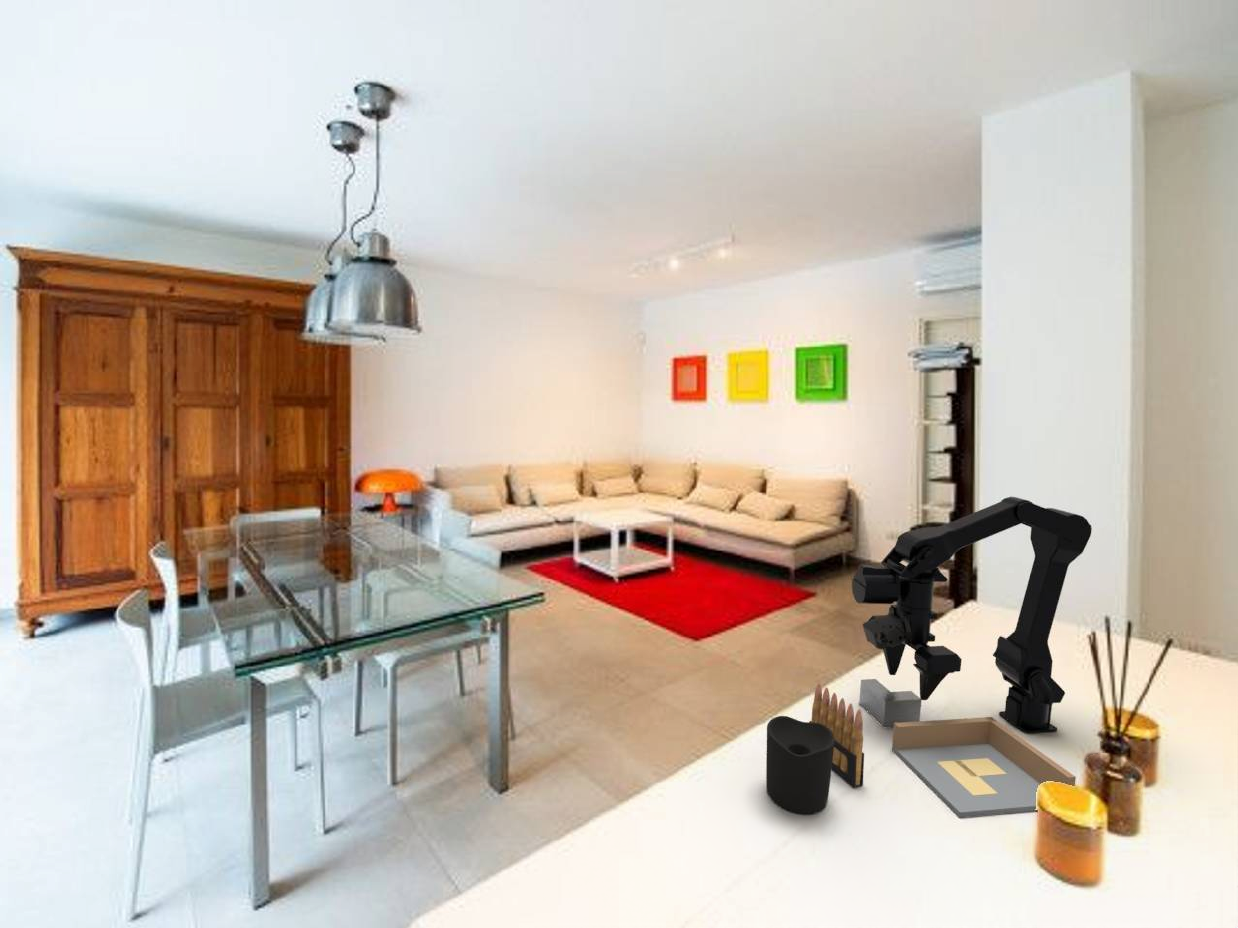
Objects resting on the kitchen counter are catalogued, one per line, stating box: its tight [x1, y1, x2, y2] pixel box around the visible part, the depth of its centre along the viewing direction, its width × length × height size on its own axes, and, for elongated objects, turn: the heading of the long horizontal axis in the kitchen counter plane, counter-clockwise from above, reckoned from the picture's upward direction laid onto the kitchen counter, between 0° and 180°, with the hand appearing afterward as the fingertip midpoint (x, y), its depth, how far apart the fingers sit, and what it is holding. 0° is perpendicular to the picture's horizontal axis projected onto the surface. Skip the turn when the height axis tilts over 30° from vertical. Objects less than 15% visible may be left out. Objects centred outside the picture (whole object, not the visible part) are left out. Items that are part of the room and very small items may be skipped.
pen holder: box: [765, 715, 835, 816], centre depth 86 cm, size 9×9×10 cm
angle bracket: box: [858, 678, 922, 728], centre depth 110 cm, size 7×8×5 cm
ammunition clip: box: [808, 682, 865, 789], centre depth 94 cm, size 11×2×12 cm, turn 22°
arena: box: [891, 716, 1077, 819], centre depth 92 cm, size 18×16×5 cm
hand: (907, 686), depth 107 cm, fingers open, 9 cm apart
